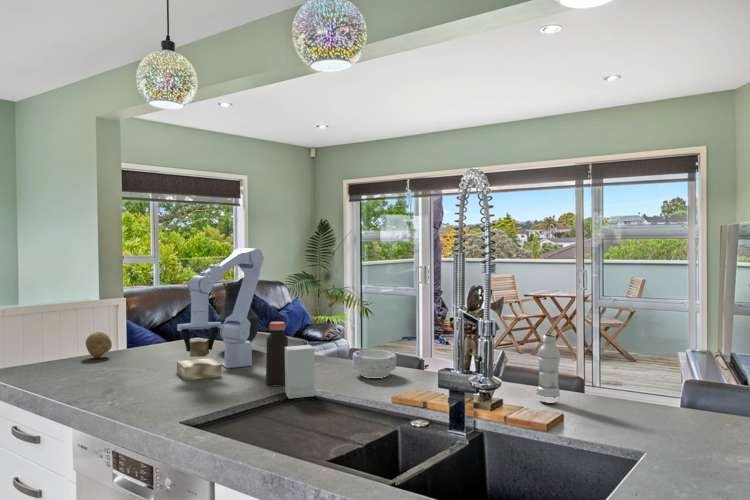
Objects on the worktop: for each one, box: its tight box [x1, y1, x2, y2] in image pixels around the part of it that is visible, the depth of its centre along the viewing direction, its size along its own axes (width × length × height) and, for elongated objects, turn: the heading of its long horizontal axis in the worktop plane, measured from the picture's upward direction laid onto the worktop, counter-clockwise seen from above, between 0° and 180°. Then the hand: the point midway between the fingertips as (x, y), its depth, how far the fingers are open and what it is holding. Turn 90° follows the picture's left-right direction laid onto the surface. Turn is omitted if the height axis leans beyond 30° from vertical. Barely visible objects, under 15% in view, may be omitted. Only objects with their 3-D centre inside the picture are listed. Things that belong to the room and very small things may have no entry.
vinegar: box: [265, 321, 289, 386], centre depth 185 cm, size 7×7×20 cm
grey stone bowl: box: [352, 349, 397, 377], centre depth 199 cm, size 15×15×8 cm
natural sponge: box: [85, 331, 113, 359], centre depth 220 cm, size 9×9×10 cm
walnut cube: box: [189, 338, 210, 358], centre depth 196 cm, size 5×5×5 cm
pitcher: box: [215, 277, 260, 344], centre depth 241 cm, size 17×21×30 cm
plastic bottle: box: [536, 334, 561, 398], centre depth 169 cm, size 6×7×20 cm
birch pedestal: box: [176, 357, 222, 381], centre depth 196 cm, size 12×12×4 cm
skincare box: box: [284, 344, 316, 400], centre depth 172 cm, size 8×6×15 cm
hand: (199, 350), depth 196 cm, fingers closed on walnut cube, 7 cm apart
